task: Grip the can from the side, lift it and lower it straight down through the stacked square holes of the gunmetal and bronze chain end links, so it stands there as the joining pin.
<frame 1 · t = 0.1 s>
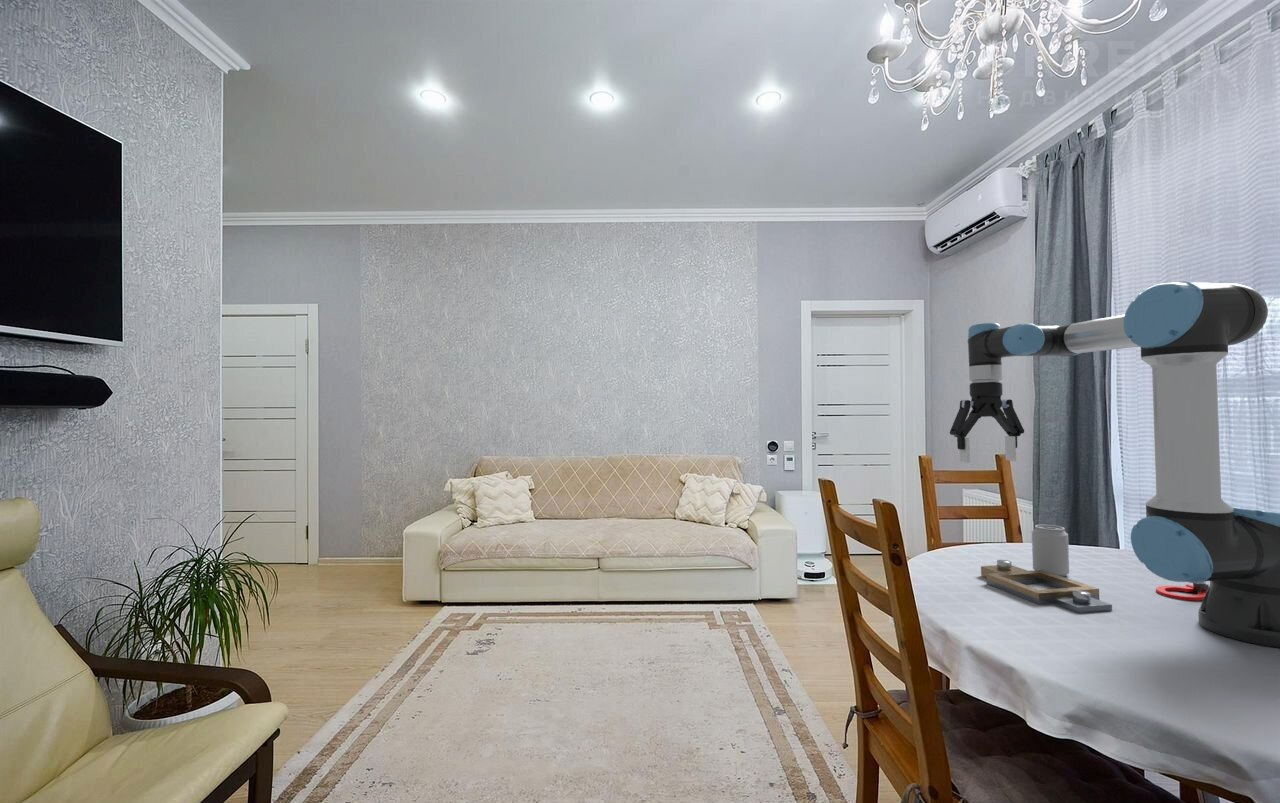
hand: (988, 461, 153), 28 cm above the table, tool pointing down, fingers open, 13 cm apart
chain end upper: (1040, 591, 132), on the table
chain end lower: (1051, 588, 129), in the chain end upper
can: (1050, 574, 145), on the table
tow hook: (1183, 596, 127), on the table
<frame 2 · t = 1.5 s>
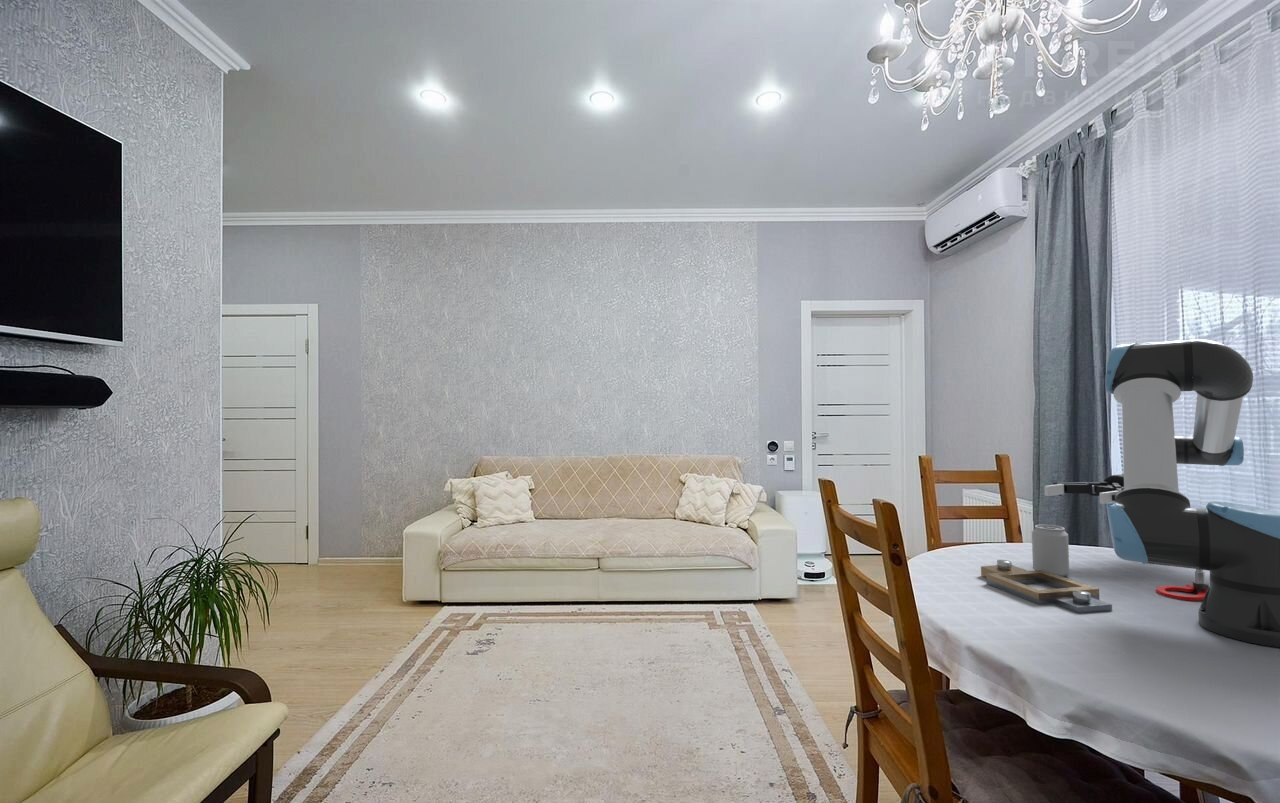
hand: (1072, 494, 148), 19 cm above the table, tool horizontal, fingers open, 13 cm apart
nothing on the table moved.
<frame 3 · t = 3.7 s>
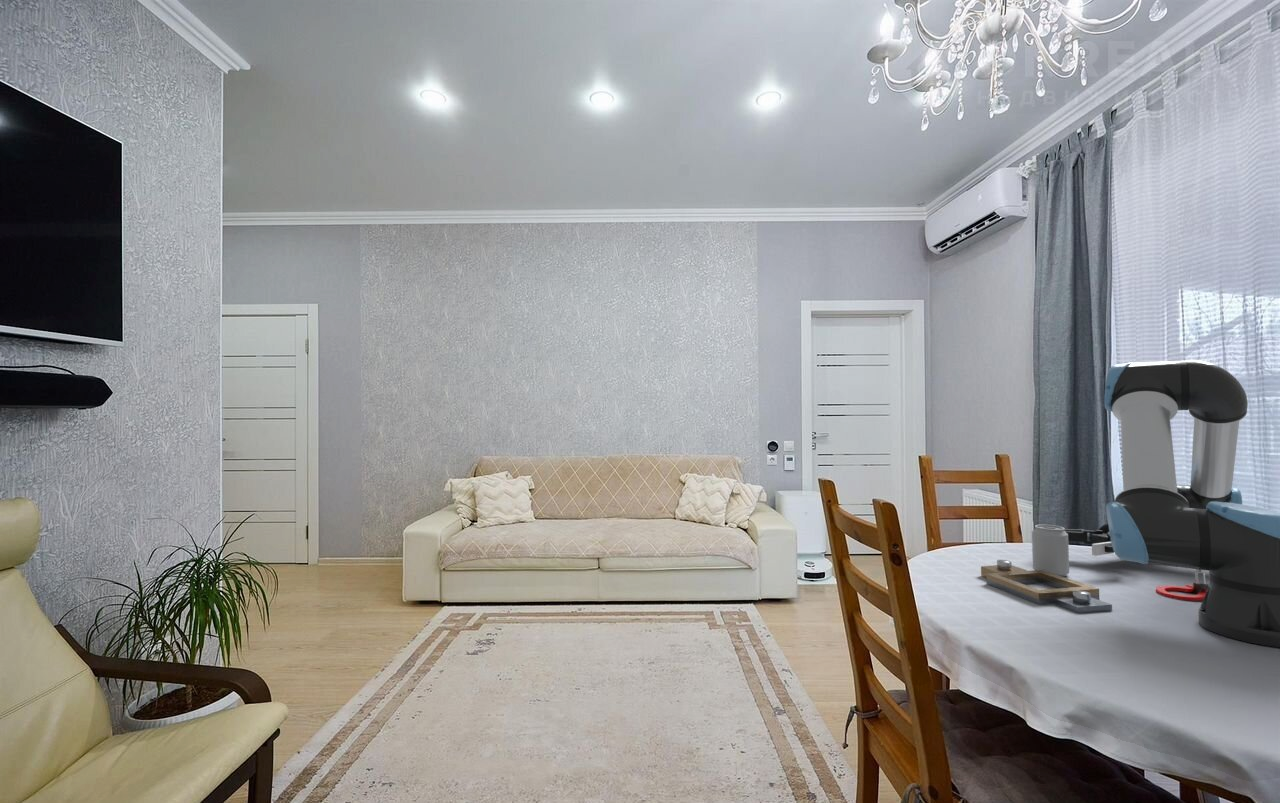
hand: (1065, 543, 147), 7 cm above the table, tool horizontal, fingers open, 13 cm apart
nothing on the table moved.
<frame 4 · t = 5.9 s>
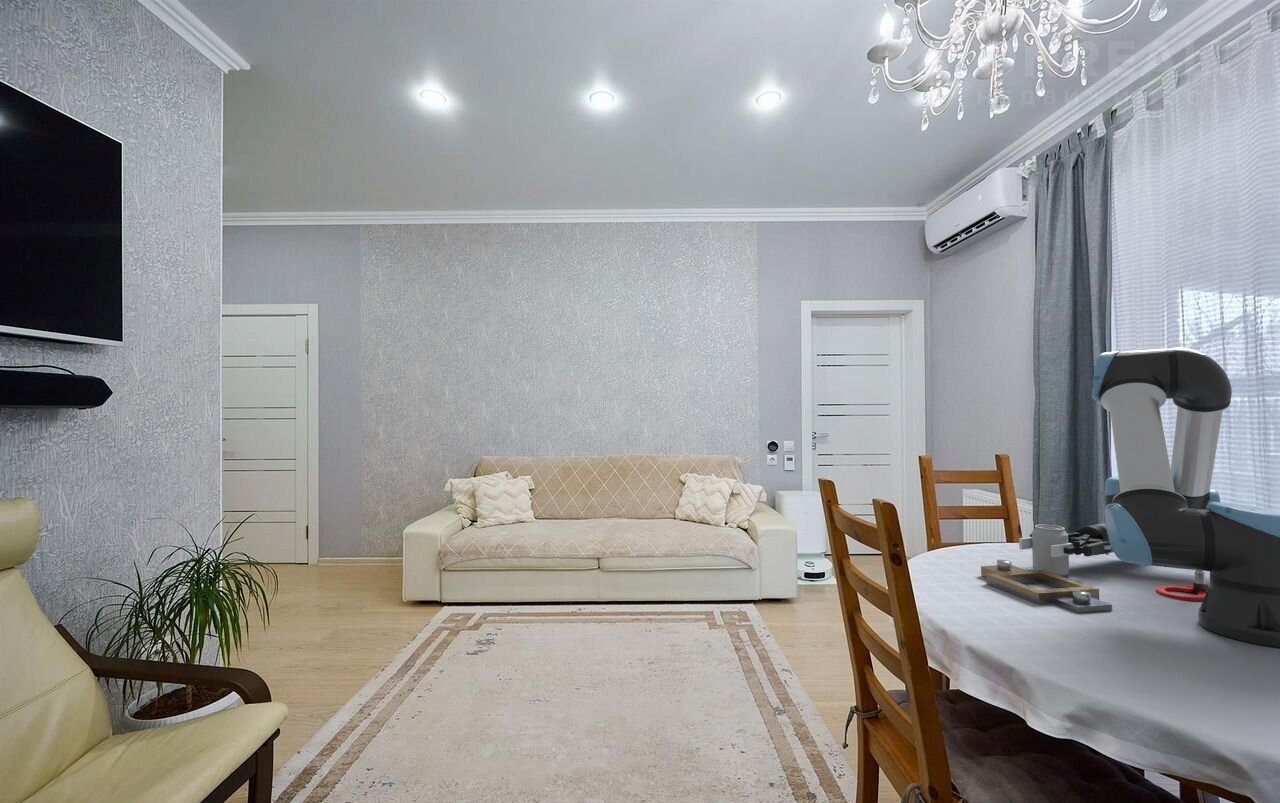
hand: (1036, 547, 144), 7 cm above the table, tool horizontal, fingers closed on can, 7 cm apart
can: (1050, 574, 145), on the table, touching gripper
everything else where it was.
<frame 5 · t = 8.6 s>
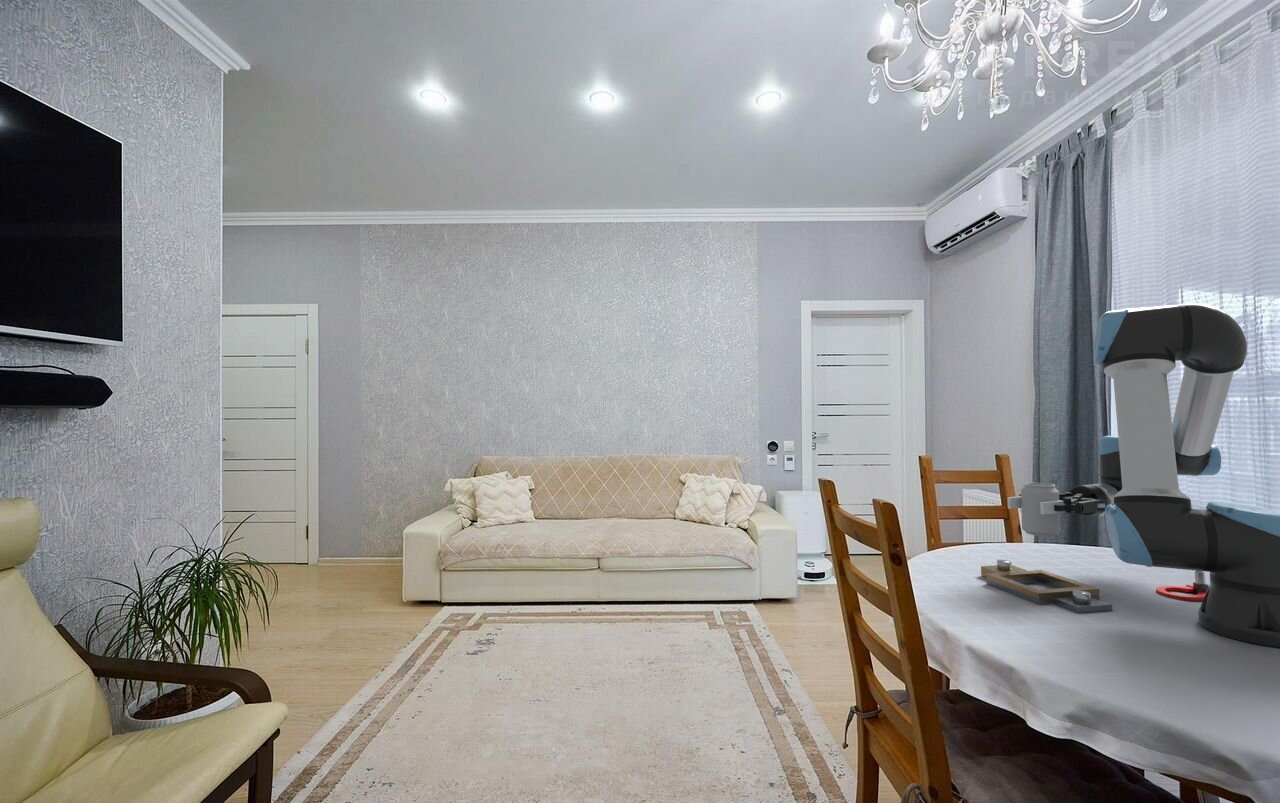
hand: (1025, 505, 135), 19 cm above the table, tool horizontal, fingers closed on can, 7 cm apart
can: (1040, 534, 137), point 12 cm above the table, touching gripper
everything else where it was.
when the fingers open (8 cm above the table, at t = 11.4 s): can drops 1 cm, resting in chain end lower.
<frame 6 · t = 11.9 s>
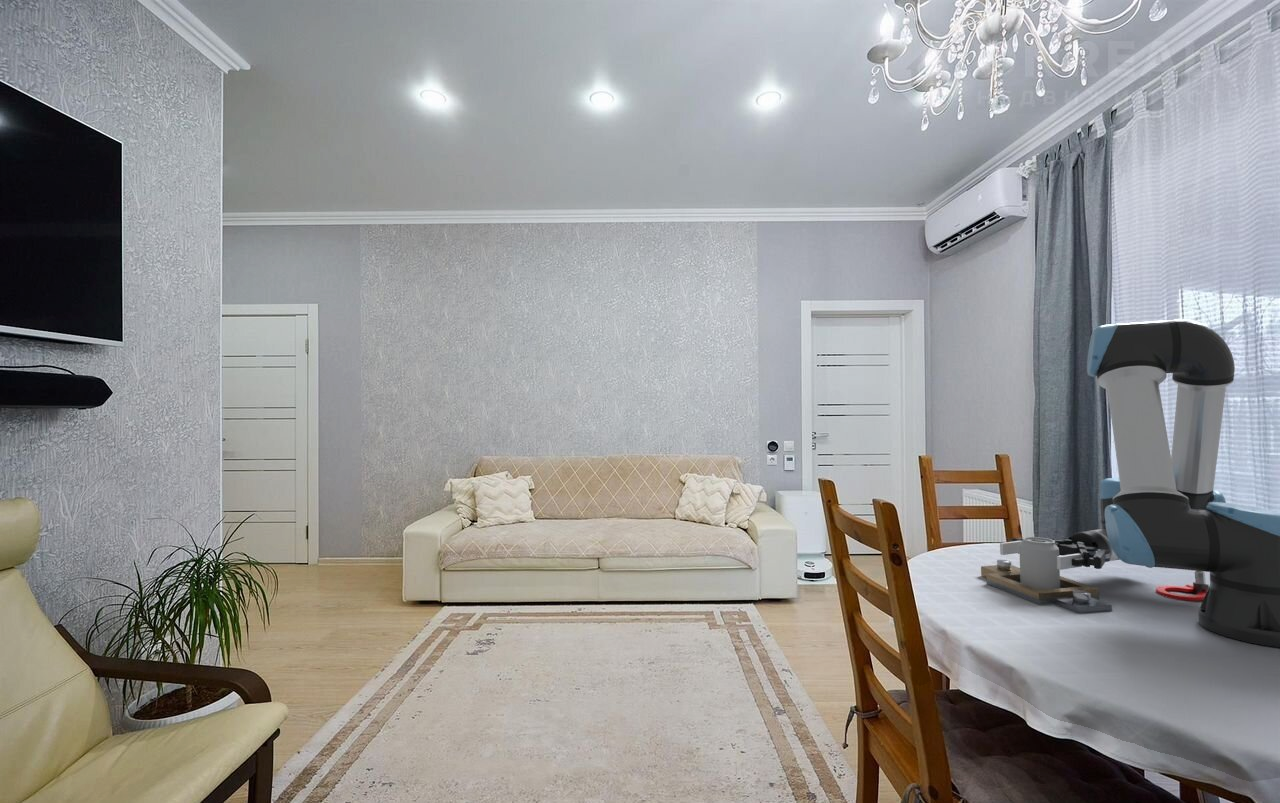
hand: (1028, 555, 131), 8 cm above the table, tool horizontal, fingers open, 13 cm apart
can: (1040, 592, 132), resting in chain end lower
everything else where it was.
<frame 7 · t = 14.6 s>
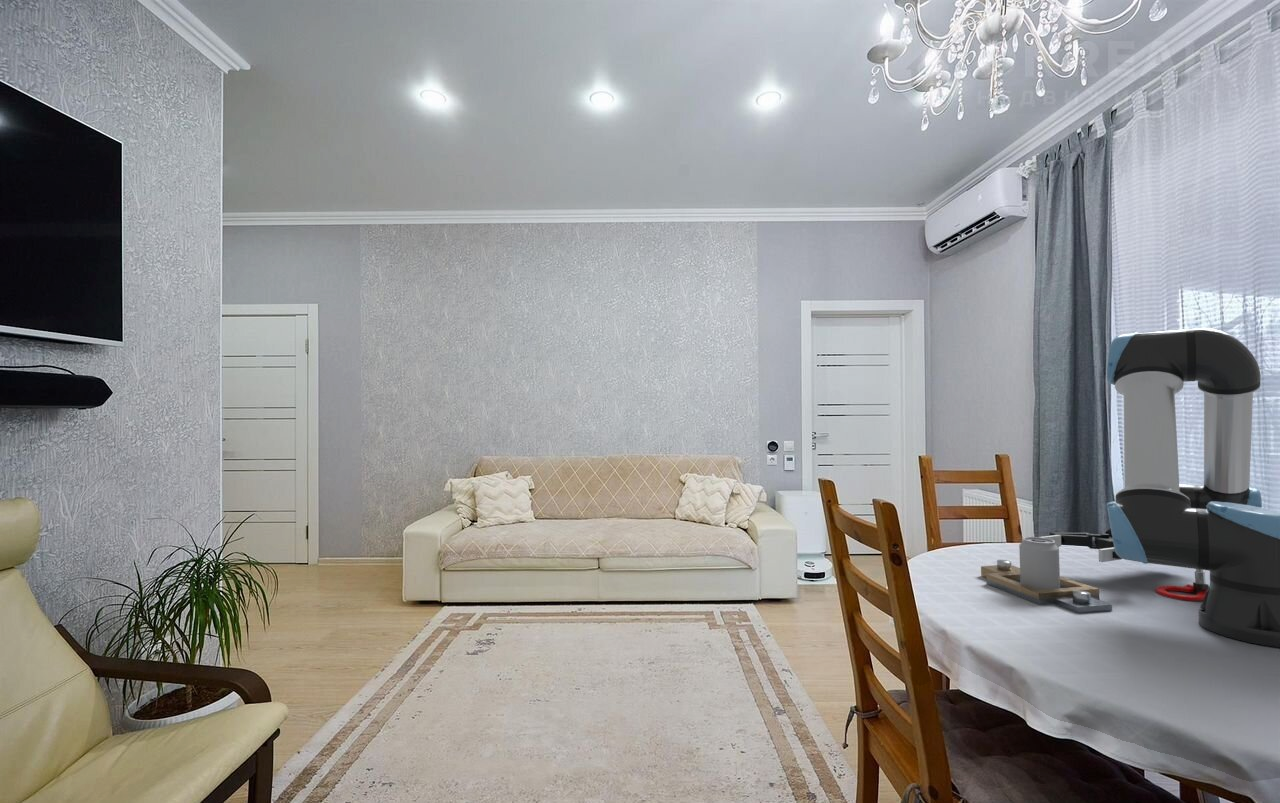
hand: (1069, 549, 135), 9 cm above the table, tool horizontal, fingers open, 13 cm apart
nothing on the table moved.
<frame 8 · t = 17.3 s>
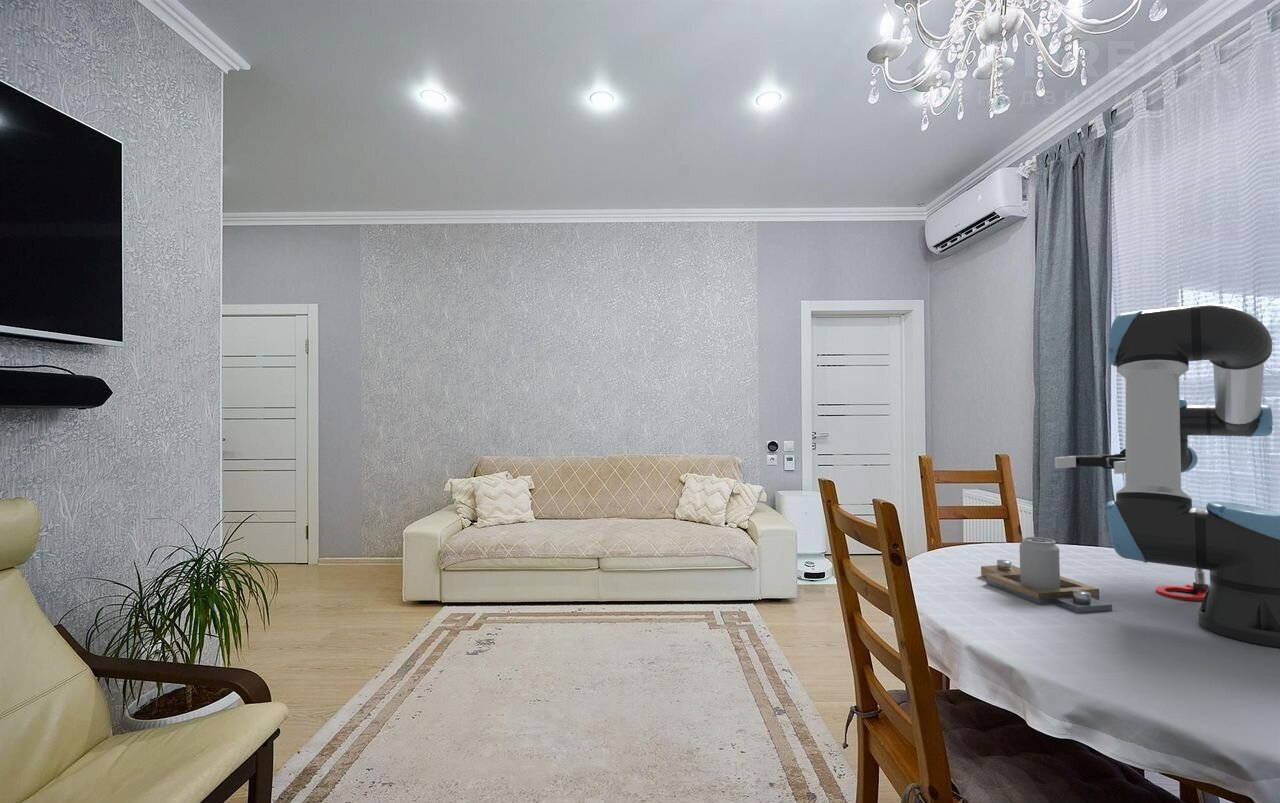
hand: (1084, 465, 138), 28 cm above the table, tool horizontal, fingers open, 13 cm apart
nothing on the table moved.
at the end: can 0.1 cm off-centre on the chain end lower, point 0.0 cm above the chain end lower's base; can tilted 0°; the gripper is holding nothing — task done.
